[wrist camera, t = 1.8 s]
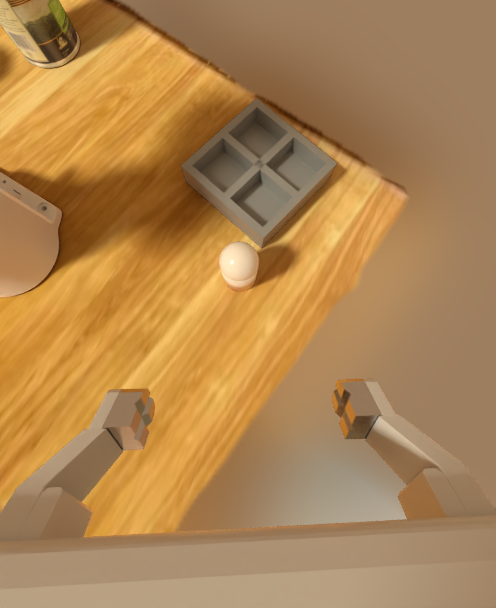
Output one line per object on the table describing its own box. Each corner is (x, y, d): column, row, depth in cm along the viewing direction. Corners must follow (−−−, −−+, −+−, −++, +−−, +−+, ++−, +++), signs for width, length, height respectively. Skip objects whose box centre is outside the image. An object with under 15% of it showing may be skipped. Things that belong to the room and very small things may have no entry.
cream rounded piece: (216, 276, 36) (208, 255, 27) (239, 254, 37) (238, 226, 28) (240, 298, 36) (239, 284, 27) (262, 275, 36) (269, 253, 27)
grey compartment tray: (185, 181, 38) (180, 165, 35) (255, 118, 41) (256, 97, 37) (261, 248, 37) (263, 238, 33) (329, 179, 39) (337, 163, 36)
